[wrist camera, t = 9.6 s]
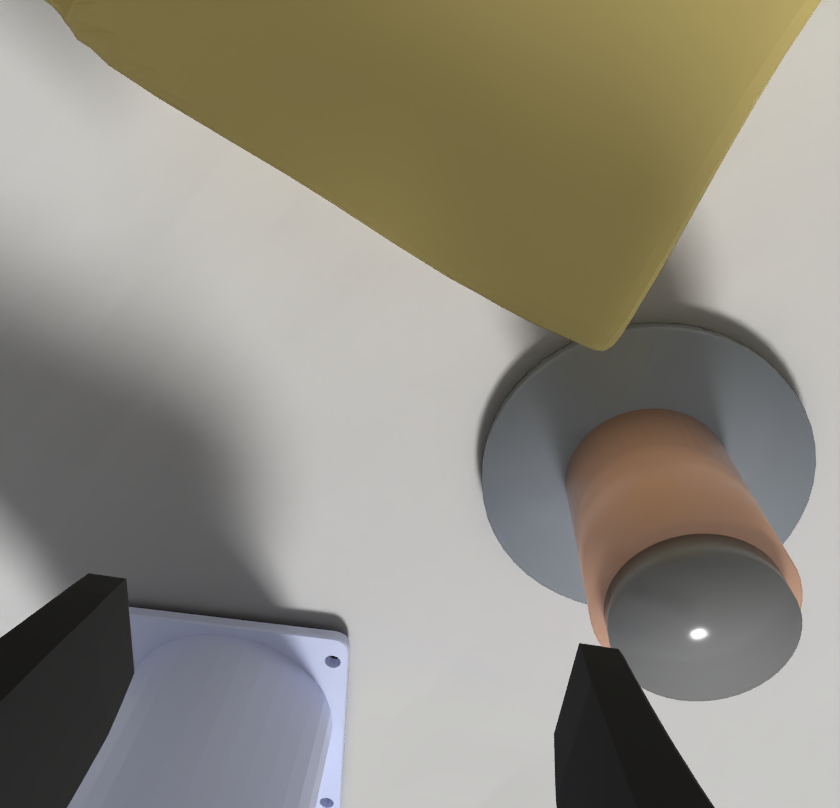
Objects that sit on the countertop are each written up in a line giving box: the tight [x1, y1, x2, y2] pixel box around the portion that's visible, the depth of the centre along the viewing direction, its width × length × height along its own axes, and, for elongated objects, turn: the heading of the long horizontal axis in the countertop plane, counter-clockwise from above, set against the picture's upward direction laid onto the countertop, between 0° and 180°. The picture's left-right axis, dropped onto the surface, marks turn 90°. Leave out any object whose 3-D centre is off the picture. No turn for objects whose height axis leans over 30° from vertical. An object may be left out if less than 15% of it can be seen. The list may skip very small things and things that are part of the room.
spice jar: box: [566, 408, 802, 701], centre depth 18 cm, size 4×4×6 cm
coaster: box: [482, 323, 816, 604], centre depth 21 cm, size 9×9×1 cm
